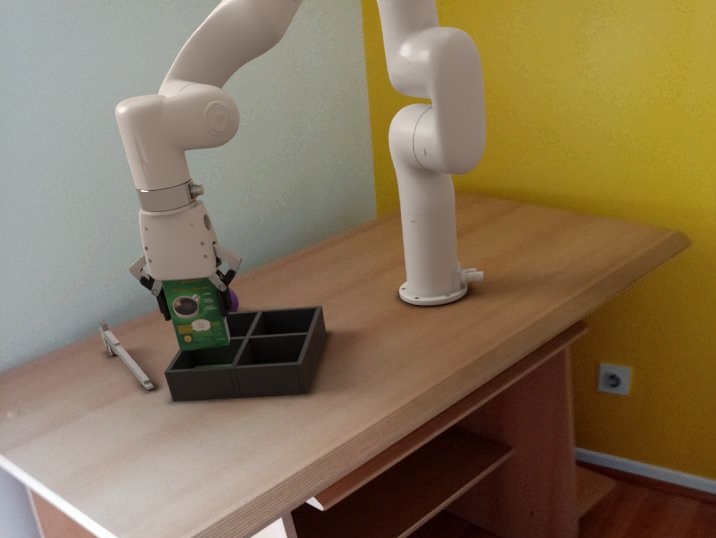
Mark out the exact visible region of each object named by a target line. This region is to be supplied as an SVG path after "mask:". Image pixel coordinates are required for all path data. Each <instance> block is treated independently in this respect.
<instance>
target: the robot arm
mask: <svg viewBox="0 0 716 538" xmlns="http://www.w3.org/2000/svg"><path fill="white" fill-rule="evenodd" d="M303 2H304V0H221V1H220V3H218V5H216V6H215V8H213V10H212V11H211V12H210V13H209V14H208V15H207V17H206V18H205V19H204V20H203V22H202V23H201V24H200V25H199V26H198V27H197V28H196V30H195V31H194V32H193V33H192V34H191V35H190V37H188V39H187V41H186V42H185V43H184V45H183V46H182V48H181V49H180V50H179V52H178V53H177V55H176V57H175V59H174V61H173V62H172V64H171V66H170V68H169V70H168V71H167V73H166V75H165V77H164V79H163V81H162V82H161V85H160V87H159V89H158V92H157V94H154V93H153V94H142V95H137V96H132V97H129V98H125V99H123V100H121V101H120V102H118V103H117V105H116V106H115V108H114V115H115V121H116V124H117V128H118V132H119V133H120V134H119V135H120V138H121V141H122V145H123V148H124V152H125V155H126V159H127V163H128V166H129V170H130V172H131V177H132V180H133V183H134V187H135V190H136V194H137V197H138V200H139V204H140V207H141V208H140V209H139V211H138V221H139V222H138V223H139V230H140V231H139V232H140V238H141V245H142V248H143V249H142V250H143V254H142V255H141V256H139V258H137V260H135V261H134V262H133V263H132V264H131V265H130V266H129V267H128V271H129V273H130V274H131V275H132V276H133V277H134V278H135V279H136V280H137V281H139V284H140V285H141V286H143V287H144V288H146V289H147V290H148V291H149V292H150V293H151V295H152V296H153V297H155V298H156V301H157V306H158V308H159V311H160V314H161V315H163V318H164V320H165V322H170V321H172V319H171V315H170V311H169V308H168V304H167V300H166V296H165V293H164V289H163V285H162V281H170V280H186V279H199V278H208V279H209V280H210V281H211V282H212V283H213V284H214V285H215V286H216V287H217V288H218V290H217V292H216V296H217V300H218V304H219V308H220V312H221V316H223V317H227V315H228V314H229V312H230V310H231V309H232V307H233V303H232V299H231V294H230V290H229V288H230V287H229V285H230V284H231V282H232V281H233V280H234V279H235V277H236V275H237V273H238V271H239V268H240V265H241V263H242V261H243V258H242V256H241V255H239V254H237V253H235V252H233V251H231V250H229V249H227V248H225V247H223V246H221V245H220V244H219V241H218V237H217V235H216V230H215V228H214V225H213V223H212V220H211V218H210V215H209V213H208V210H207V208H206V206H205V203H204V202H203V200H202V199H197V197H199V196H204V194H205V190H204V186H203V184H198V183H195V182H194V180H193V178H191V173H190V169H189V165H188V161H187V157H186V153H185V152H187V151H193V150H195V151H196V150H205V149H214V148H218V147H219V148H220V147H222V146H224V145H225V144H228V143H229V142H230V141H231V140H232V139H233V138H235V136H236V134H237V132H238V130H239V127H240V122H241V118H240V117H241V115H240V110H239V107H238V104H237V103H236V101H235V99H234V98H233V97H232V96H231V95H230V94H229V93H228V92H227V91H225V90H224V89H223V87H224V86H225V85H226V83H227V82H228V81H229V80H230V78H231V77H233V75H234V74H235V73H236V72H237V71H239V69H241V68H242V67H243V66H245V65H246V64H248V63H249V62H251V61H253V60H255V59H257V58H258V57H260V56H262V55H264V54H266V53H267V52H268V51H270V50H271V49H273V48H274V47H275V46H276V45H277V44H279V43H280V42H281V41H282V39H283V38H284V36H285V34H286V32H287V30H288V28H289V26H290V25H291V23H292V21H293V19H294V17H295V16H296V14H297V12H298V10H299V8H300V6H301V5H302V4H303ZM376 3H377V8H378V13H379V19H380V25H381V32H382V40H383V48H384V55H385V60H386V61H385V63H386V69H387V74H388V78H389V83H390V84H391V86H392V88H393V89H394V90H395V91H396V92H397V93H398V94H400V95H404V96H406V97H411V98H412V97H413V98H418V99H419V98H420V99H429V100H430V101H431V104H430V103H412V104H409V105H406V106H404V107H402V108H400V110H398V112H397V113H396V114H395V115H394V116H393V118H392V120H391V122H390V124H389V128H388V147H389V153H390V157H391V161H392V164H393V167H394V172H395V175H396V176H395V177H396V181H397V182H396V183H397V189H398V196H399V197H398V198H399V207H400V219H401V230H402V241H403V242H402V243H403V254H404V264H405V276H406V281H405V282H404V283H403V284H401V285H400V287H399V289H398V290H399V298H400V299H401V300H402V301H404V302H406V303H408V304H410V305H415V306H424V307H425V306H439V305H444V304H448V303H452V302H456V301H457V300H459V299H462V297H464V296H465V295H466V294H467V293H468V289H469V288H468V283H473V284H474V283H484V279H485V278H484V270H479V271H478V270H477V267H472V268H464V267H461V261H460V260H459V256H458V254H459V253H458V238H457V236H458V235H457V233H458V232H457V215H456V213H457V212H456V192H455V186H454V182H453V178H452V176H463V175H466V174H468V173H471V172H472V171H474V170H475V168H477V166H478V165H479V164H480V162H481V160H482V158H483V156H484V153H485V149H486V142H487V122H486V104H485V91H484V90H485V88H484V75H483V65H482V58H481V55H480V52H479V49H478V47H477V45H476V42H475V41H474V39H473V38H472V37H471V36H470V34H469V33H467V32H466V31H465V30H462V29H461V28H458V27H452V26H440V22H439V17H438V11H437V4H436V0H376ZM223 261H224V262H226V263H228V265H229V266H228V269H227V271H226V273H225V272H224V271H223V270H222V269H221V268H220V267H221V266H222V264H223ZM145 266H147V269H148V272H149V274H148V273H147V272H146V270H145V269H144V267H145Z"/></svg>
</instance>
